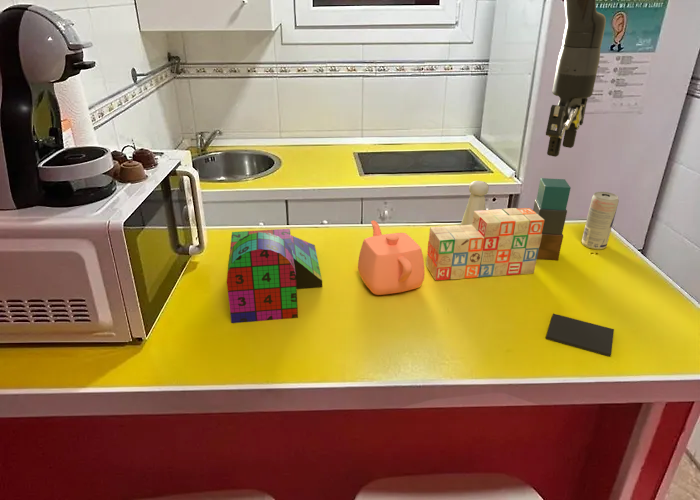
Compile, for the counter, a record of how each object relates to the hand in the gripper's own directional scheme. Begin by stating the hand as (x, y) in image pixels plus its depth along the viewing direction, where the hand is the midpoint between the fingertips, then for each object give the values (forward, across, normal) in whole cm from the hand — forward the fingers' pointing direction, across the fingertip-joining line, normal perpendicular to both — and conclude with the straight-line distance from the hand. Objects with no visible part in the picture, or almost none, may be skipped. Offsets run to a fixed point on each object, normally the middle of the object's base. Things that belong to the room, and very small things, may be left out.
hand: (560, 151), depth 109 cm
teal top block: (+10, -5, -2) cm, 12 cm away
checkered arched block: (+22, -52, +32) cm, 65 cm away
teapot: (+22, -37, +16) cm, 46 cm away
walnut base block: (+22, -5, -2) cm, 22 cm away
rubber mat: (+22, -30, -19) cm, 42 cm away
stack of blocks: (+22, -21, +5) cm, 31 cm away
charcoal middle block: (+16, -5, -2) cm, 17 cm away
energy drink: (+22, +7, -9) cm, 25 cm away
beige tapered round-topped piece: (+22, -7, +14) cm, 27 cm away
